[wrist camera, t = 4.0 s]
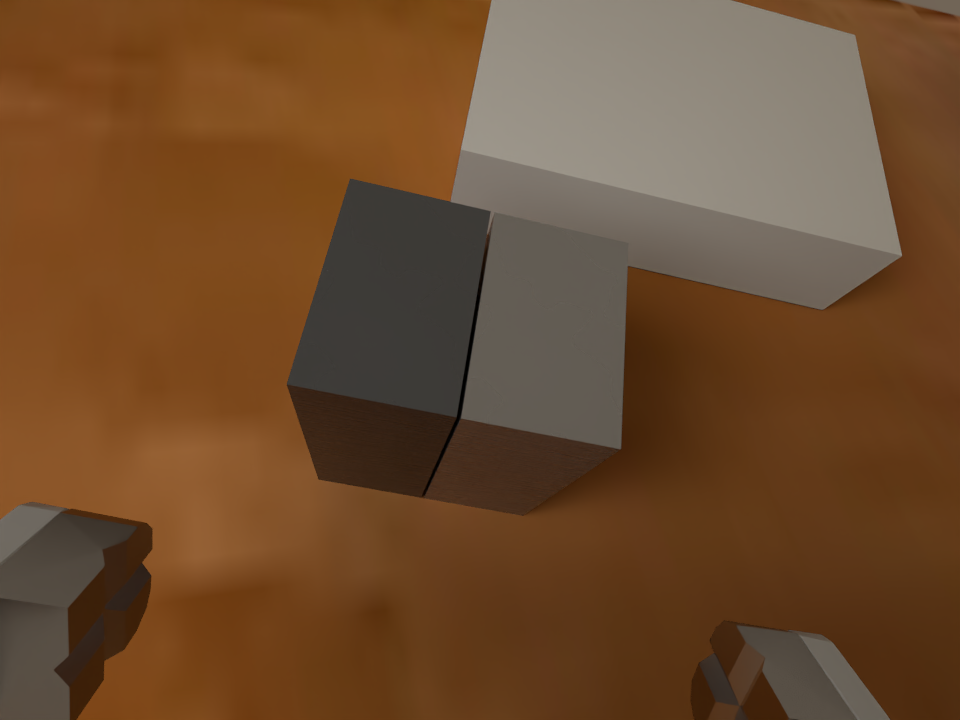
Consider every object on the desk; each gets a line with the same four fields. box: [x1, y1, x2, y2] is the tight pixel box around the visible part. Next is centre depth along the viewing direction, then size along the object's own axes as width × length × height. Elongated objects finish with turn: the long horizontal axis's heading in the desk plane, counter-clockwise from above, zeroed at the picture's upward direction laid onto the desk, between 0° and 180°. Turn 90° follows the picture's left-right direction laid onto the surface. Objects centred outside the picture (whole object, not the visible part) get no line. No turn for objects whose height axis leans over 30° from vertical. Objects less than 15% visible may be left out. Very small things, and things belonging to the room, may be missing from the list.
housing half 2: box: [287, 179, 491, 498], centre depth 16 cm, size 3×5×8 cm, turn 172°
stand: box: [451, 0, 902, 310], centre depth 24 cm, size 16×12×4 cm
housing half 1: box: [424, 212, 628, 516], centre depth 16 cm, size 3×5×8 cm, turn 172°
